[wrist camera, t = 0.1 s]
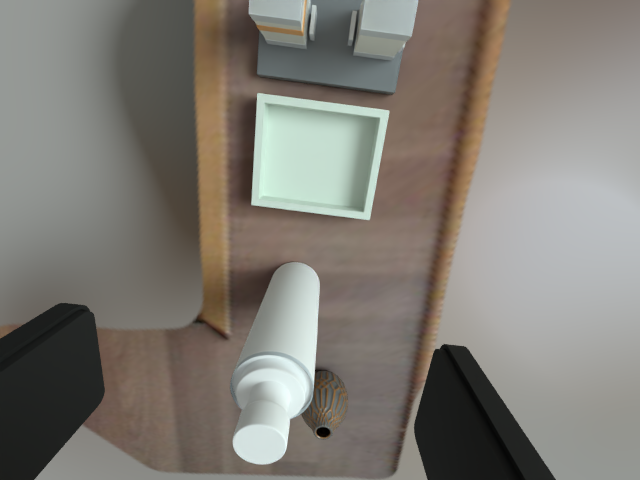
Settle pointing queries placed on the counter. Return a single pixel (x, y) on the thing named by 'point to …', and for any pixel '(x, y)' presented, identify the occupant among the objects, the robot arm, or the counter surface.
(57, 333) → the robot arm
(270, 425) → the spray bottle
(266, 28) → the block
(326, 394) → the vase
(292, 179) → the tray
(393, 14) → the block
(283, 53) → the block
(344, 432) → the counter surface
